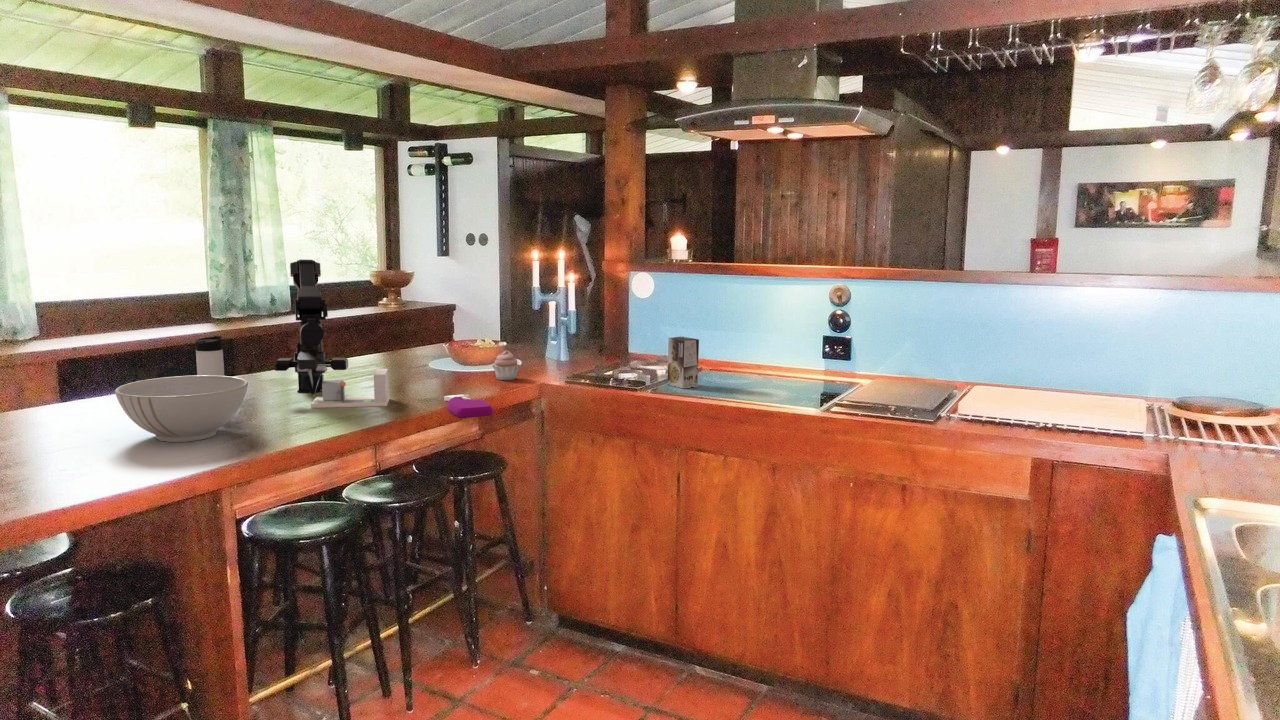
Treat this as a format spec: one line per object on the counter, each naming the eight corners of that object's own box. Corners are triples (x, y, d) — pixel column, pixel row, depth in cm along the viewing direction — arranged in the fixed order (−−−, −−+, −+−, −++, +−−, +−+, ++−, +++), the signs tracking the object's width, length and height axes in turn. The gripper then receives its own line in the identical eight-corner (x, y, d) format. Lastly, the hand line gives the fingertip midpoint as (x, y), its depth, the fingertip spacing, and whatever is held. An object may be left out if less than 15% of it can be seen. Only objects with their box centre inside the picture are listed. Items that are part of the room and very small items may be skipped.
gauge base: (311, 407, 219) (309, 375, 217) (316, 400, 228) (315, 369, 227) (386, 405, 224) (386, 374, 222) (389, 398, 233) (388, 368, 232)
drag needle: (339, 400, 222) (338, 382, 221) (340, 399, 224) (340, 380, 223) (345, 400, 222) (345, 382, 221) (346, 398, 224) (346, 380, 223)
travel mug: (232, 410, 213) (228, 336, 210) (212, 415, 207) (207, 339, 204) (214, 408, 215) (210, 335, 212) (194, 412, 209) (189, 337, 206)
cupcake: (487, 380, 266) (487, 351, 264) (498, 376, 275) (498, 347, 273) (514, 382, 264) (514, 352, 262) (524, 377, 273) (524, 349, 271)
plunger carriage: (320, 402, 220) (320, 385, 219) (325, 396, 228) (324, 380, 227) (340, 402, 221) (339, 385, 220) (343, 396, 229) (343, 380, 228)
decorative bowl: (107, 455, 169) (103, 399, 167) (130, 426, 193) (126, 378, 192) (247, 445, 180) (244, 392, 178) (252, 419, 204) (250, 373, 202)
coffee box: (698, 387, 264) (700, 339, 261) (682, 389, 260) (684, 340, 258) (681, 382, 271) (683, 336, 269) (666, 384, 267) (667, 336, 265)
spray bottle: (456, 420, 211) (435, 403, 233) (496, 416, 216) (472, 400, 237) (456, 409, 210) (435, 393, 232) (496, 406, 215) (472, 390, 237)
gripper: (268, 343, 212) (271, 400, 215) (342, 343, 217) (344, 399, 219) (277, 338, 223) (279, 392, 225) (347, 338, 227) (349, 391, 230)
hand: (313, 394), depth 225 cm, fingers closed
